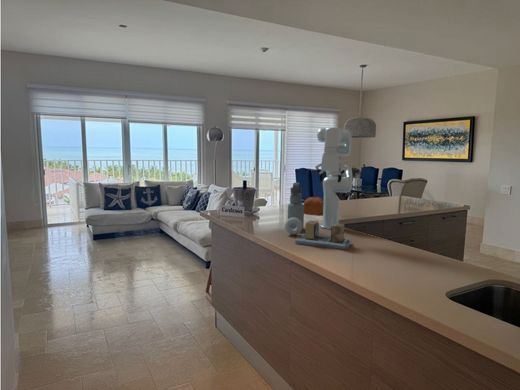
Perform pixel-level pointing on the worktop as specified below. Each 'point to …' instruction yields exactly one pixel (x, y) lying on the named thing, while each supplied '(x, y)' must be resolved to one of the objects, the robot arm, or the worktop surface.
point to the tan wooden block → (337, 233)
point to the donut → (297, 229)
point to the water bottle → (296, 205)
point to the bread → (313, 206)
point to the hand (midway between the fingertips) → (330, 181)
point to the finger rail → (319, 238)
